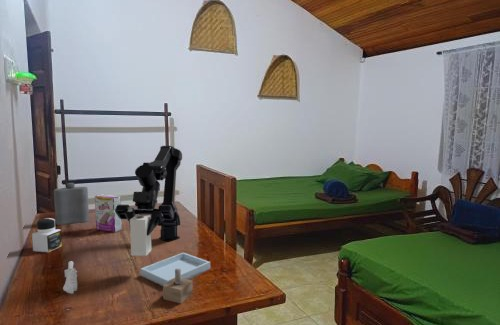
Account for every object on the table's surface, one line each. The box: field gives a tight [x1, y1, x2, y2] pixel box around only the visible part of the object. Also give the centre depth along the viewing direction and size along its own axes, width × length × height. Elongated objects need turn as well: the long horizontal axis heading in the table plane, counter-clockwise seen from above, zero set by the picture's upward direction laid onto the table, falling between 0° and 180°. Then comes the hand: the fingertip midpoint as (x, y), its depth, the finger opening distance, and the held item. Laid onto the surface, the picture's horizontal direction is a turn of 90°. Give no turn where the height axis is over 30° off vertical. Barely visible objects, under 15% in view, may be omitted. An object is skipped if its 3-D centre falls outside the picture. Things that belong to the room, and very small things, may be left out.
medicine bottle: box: [31, 217, 62, 253], centre depth 133 cm, size 7×7×12 cm
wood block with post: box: [162, 269, 194, 304], centre depth 96 cm, size 6×6×8 cm
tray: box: [140, 252, 211, 287], centre depth 112 cm, size 18×14×2 cm
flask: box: [53, 182, 90, 226], centre depth 169 cm, size 15×6×20 cm, turn 121°
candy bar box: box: [94, 193, 123, 233], centre depth 157 cm, size 11×5×16 cm, turn 71°
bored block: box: [129, 214, 152, 257], centre depth 110 cm, size 5×5×12 cm
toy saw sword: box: [62, 260, 79, 294], centre depth 107 cm, size 3×4×22 cm
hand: (139, 234), depth 109 cm, fingers closed on bored block, 5 cm apart
